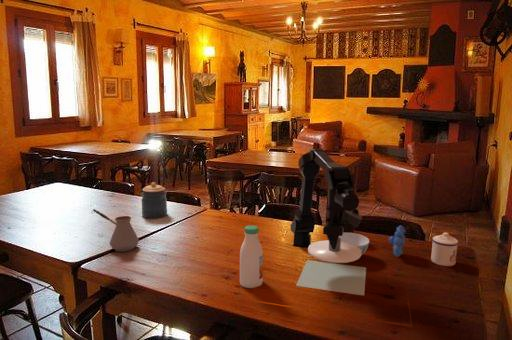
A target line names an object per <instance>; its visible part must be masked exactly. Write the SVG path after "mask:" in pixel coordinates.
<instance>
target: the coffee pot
mask: <svg viewBox="0 0 512 340" xmlns="http://www.w3.org/2000/svg"><path fill="white" fill-rule="evenodd" d="M90 213H91V214H93V215H94V213H95V214H98V215H99V216H100V217H101V218H104V219H105V220H107V221H109V222H110V223H112V224H114V225H115V227H114V230H113V233H112V236H111V237H110V240H109V245H110V247H111V248H112V249H113V250H115V251H116V252H122V253H124V252H130V251H132V250H134V249H135V247H137V245H138V244H139V242H140V239H139V238H138V236H137V233H136V232H135V230H134V228H133V225H132V224H131V220H132V217H131V216H129V215H122V216H117V217H115V218H114V220H112V219H111V218H109V217H108V216H107V215H106V214H104V213H102V212H100V211H99V210H97V209H95V208H94V209H92V211H91V212H90Z"/></svg>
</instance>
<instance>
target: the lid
mask: <svg viewBox="0 0 512 340" xmlns="http://www.w3.org/2000/svg"><path fill="white" fill-rule="evenodd" d="M307 252H308V254H309V255H310V257H312V258H314V259H316V260H319V261H321V262H325V263H333V264H347V263H351V262H352V263H353V262H355V261H358V260H359V259H360V258H361V256H362V255H361V250H360V249H359V248H358V247H357V246H355V245H353V244H350V243H347V242H342V241H341V238H339V237H338V241H337V245H336V249H332V247H331V245H330V242H329V240H327V239H326V240H320V241H319V240H318V241H315V242H311V244H310V245H309V247H308V248H307Z"/></svg>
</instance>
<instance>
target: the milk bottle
mask: <svg viewBox="0 0 512 340" xmlns="http://www.w3.org/2000/svg"><path fill="white" fill-rule="evenodd" d="M259 232H260V231H259V227H258V226H257V225H247V226H245V227H244V240H243V242H242V244H241V247H240V251H239V285H241V287H243V288H245V289H254V288H258V287H260V286H261V285H263V281H264V279H263V274H264V273H263V267H264V265H263V264H264V263H263V262H264V254H263V253H264V251H263V247H262V245H261V241H260V240H259Z"/></svg>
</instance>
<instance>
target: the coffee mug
mask: <svg viewBox="0 0 512 340" xmlns="http://www.w3.org/2000/svg"><path fill="white" fill-rule="evenodd" d="M355 228H356V227H354V226H353V225H351V224H349V223H347V222H345V227H344V228H343V233H354V232H355Z"/></svg>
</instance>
